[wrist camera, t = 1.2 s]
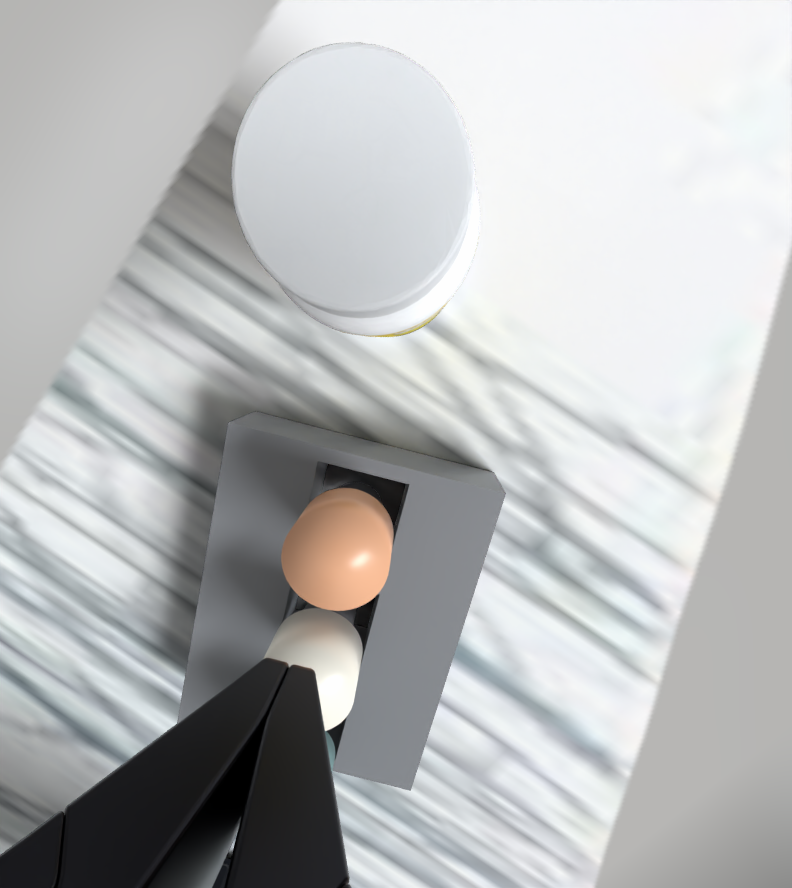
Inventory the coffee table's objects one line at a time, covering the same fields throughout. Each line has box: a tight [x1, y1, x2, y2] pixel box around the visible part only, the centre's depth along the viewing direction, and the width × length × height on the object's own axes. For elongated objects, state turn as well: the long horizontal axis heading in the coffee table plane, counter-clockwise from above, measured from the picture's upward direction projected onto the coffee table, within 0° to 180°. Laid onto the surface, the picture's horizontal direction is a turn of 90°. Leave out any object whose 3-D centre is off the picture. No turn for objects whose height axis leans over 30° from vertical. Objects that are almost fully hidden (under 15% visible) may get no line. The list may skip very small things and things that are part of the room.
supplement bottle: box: [231, 42, 480, 337], centre depth 11 cm, size 5×5×8 cm
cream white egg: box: [263, 602, 363, 731], centre depth 15 cm, size 3×3×4 cm
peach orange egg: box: [281, 482, 394, 611], centre depth 14 cm, size 3×3×4 cm
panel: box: [177, 411, 506, 791], centre depth 17 cm, size 12×9×2 cm
